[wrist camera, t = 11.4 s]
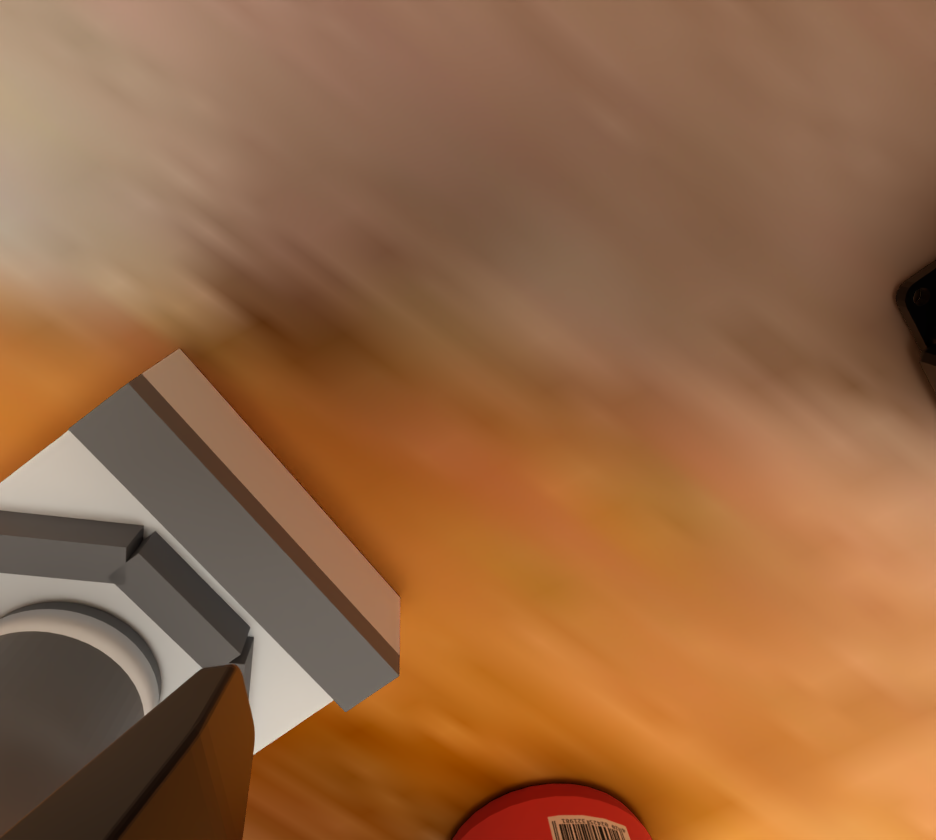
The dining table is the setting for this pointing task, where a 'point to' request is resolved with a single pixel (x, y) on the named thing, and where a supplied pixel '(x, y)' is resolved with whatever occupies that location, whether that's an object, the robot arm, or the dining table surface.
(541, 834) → the canned food
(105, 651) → the gray tumbler
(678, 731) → the dining table surface
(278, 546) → the square flange plate
